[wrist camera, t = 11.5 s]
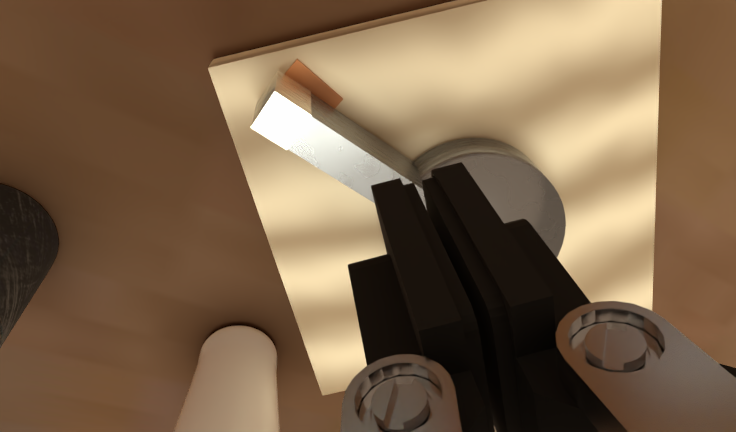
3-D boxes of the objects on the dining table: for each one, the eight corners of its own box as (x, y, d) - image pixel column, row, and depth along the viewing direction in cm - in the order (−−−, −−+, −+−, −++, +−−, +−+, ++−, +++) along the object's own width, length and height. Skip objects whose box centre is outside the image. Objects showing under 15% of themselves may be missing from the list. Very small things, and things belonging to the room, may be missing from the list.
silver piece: (579, 194, 35) (618, 235, 31) (472, 307, 39) (494, 358, 34) (321, 2, 29) (324, 20, 24) (219, 158, 32) (205, 198, 28)
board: (213, 59, 32) (207, 69, 30) (642, -46, 31) (665, -43, 29) (321, 375, 43) (322, 397, 41) (637, 302, 43) (653, 320, 41)
